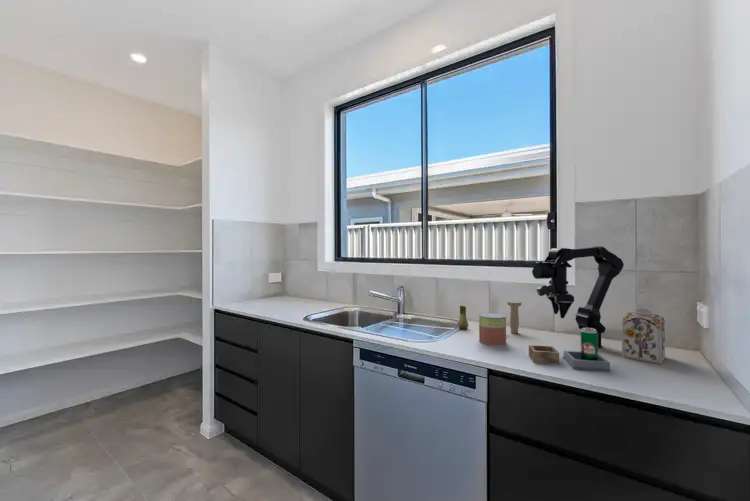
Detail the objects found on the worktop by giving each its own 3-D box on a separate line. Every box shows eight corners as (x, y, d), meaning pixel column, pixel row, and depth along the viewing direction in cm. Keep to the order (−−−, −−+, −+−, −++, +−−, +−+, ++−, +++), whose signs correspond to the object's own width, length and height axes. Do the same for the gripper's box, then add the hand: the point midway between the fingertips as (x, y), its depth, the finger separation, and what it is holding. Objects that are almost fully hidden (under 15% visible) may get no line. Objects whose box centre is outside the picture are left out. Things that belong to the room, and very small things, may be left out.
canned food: (508, 341, 151) (508, 314, 151) (503, 347, 142) (503, 318, 142) (482, 337, 157) (482, 311, 157) (475, 343, 148) (475, 316, 148)
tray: (596, 360, 124) (596, 352, 124) (610, 371, 114) (609, 362, 114) (563, 358, 127) (563, 350, 127) (573, 368, 116) (573, 360, 116)
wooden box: (552, 356, 129) (552, 346, 129) (559, 364, 121) (559, 352, 121) (528, 355, 131) (528, 344, 131) (533, 362, 123) (533, 351, 123)
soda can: (579, 363, 120) (578, 328, 120) (583, 359, 123) (582, 326, 123) (595, 366, 116) (595, 331, 116) (599, 362, 120) (599, 328, 120)
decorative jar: (627, 350, 136) (627, 305, 136) (665, 357, 128) (665, 309, 128) (621, 357, 128) (621, 309, 128) (661, 364, 120) (661, 313, 120)
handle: (520, 334, 162) (520, 303, 162) (506, 333, 166) (506, 302, 166) (522, 332, 166) (522, 301, 166) (508, 331, 170) (508, 300, 170)
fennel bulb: (458, 327, 179) (458, 304, 179) (468, 327, 178) (468, 304, 178) (458, 329, 174) (458, 306, 173) (468, 330, 172) (468, 306, 172)
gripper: (532, 276, 152) (533, 311, 152) (543, 280, 134) (543, 319, 134) (560, 276, 150) (560, 312, 150) (574, 280, 131) (574, 321, 131)
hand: (558, 316), depth 141 cm, fingers open, 9 cm apart
